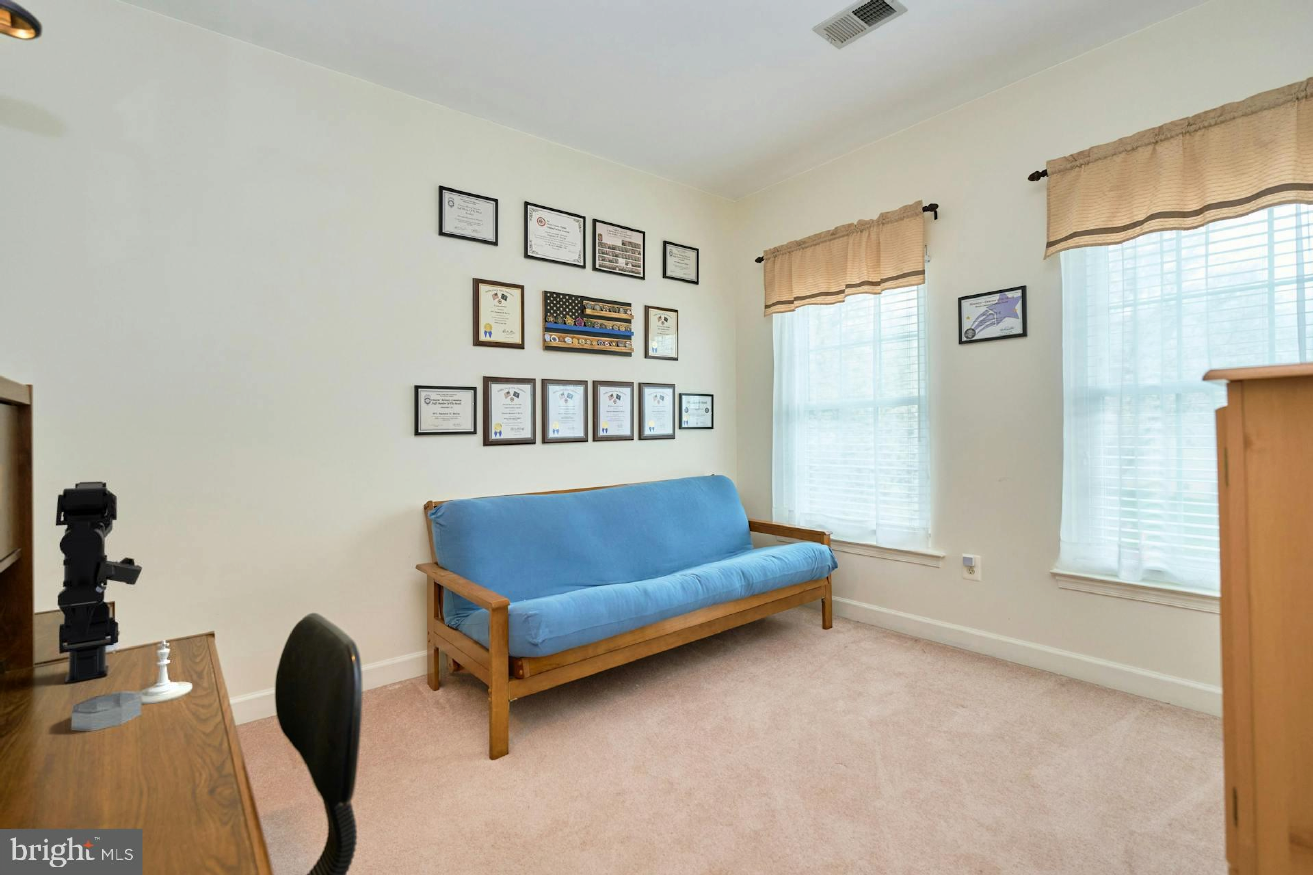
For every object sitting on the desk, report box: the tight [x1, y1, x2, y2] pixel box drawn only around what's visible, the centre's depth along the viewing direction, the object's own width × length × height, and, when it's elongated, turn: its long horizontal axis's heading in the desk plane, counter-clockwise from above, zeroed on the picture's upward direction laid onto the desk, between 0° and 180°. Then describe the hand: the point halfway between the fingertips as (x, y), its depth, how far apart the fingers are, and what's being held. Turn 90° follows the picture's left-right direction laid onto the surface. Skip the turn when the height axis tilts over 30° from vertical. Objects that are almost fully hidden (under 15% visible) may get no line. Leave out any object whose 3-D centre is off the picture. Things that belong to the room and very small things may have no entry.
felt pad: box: [139, 681, 193, 705], centre depth 119 cm, size 9×9×1 cm
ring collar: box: [71, 690, 142, 732], centre depth 108 cm, size 9×9×3 cm
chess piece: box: [147, 639, 179, 696], centre depth 119 cm, size 5×5×10 cm
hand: (83, 631), depth 117 cm, fingers open, 9 cm apart
